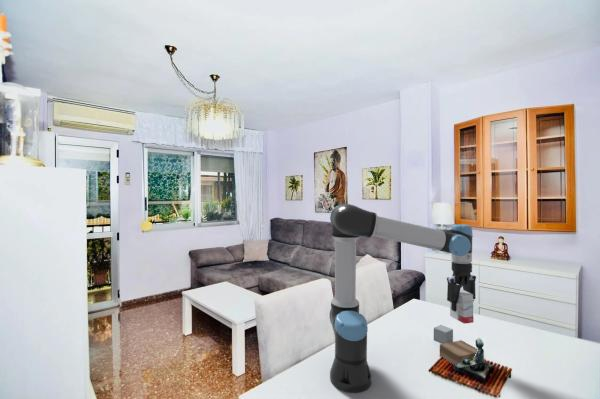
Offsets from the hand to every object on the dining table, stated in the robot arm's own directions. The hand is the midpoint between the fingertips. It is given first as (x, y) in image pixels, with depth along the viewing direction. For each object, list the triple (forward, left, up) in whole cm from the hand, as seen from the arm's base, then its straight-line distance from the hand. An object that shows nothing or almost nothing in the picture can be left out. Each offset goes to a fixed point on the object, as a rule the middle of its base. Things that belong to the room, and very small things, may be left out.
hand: (461, 317), depth 125 cm
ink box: (0, 0, -1) cm, 1 cm away
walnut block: (0, 0, -18) cm, 18 cm away
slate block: (+6, +15, -18) cm, 24 cm away
